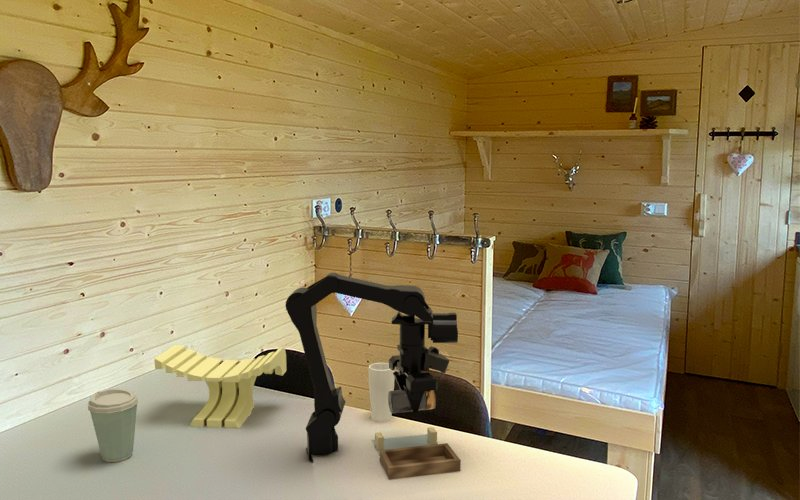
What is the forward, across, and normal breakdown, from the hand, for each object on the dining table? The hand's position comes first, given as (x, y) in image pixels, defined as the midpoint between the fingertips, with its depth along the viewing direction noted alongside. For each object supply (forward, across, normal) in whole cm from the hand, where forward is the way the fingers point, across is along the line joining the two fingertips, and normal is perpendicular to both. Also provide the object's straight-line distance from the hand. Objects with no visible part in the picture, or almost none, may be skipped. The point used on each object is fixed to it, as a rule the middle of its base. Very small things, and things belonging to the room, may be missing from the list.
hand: (411, 408), depth 151 cm
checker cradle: (+12, +4, 0) cm, 12 cm away
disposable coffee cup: (+12, +18, +66) cm, 69 cm away
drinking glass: (+12, +22, +2) cm, 25 cm away
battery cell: (0, 0, 0) cm, 0 cm away
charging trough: (+12, -7, 0) cm, 14 cm away
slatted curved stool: (+12, +37, +41) cm, 57 cm away
